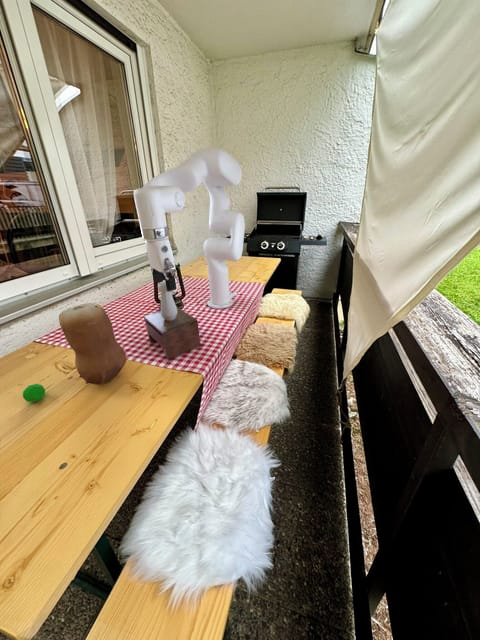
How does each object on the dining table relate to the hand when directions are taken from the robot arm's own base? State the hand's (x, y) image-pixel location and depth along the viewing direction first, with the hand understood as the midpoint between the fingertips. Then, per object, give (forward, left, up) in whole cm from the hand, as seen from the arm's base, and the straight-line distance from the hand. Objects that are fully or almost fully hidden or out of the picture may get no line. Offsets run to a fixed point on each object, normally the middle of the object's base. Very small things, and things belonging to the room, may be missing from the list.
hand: (165, 286), depth 87 cm
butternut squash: (+25, +3, -23) cm, 34 cm away
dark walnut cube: (0, 0, -23) cm, 23 cm away
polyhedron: (+43, -1, -23) cm, 49 cm away
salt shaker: (0, 0, -12) cm, 12 cm away
